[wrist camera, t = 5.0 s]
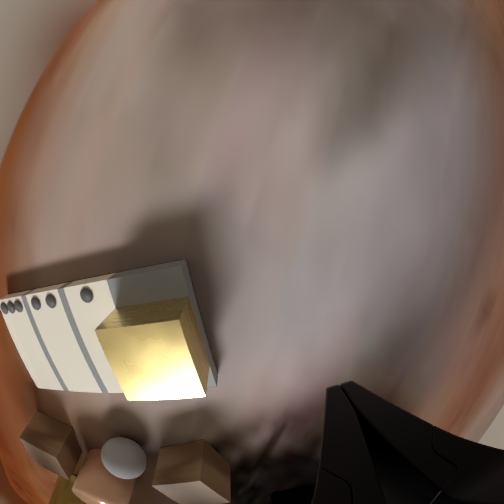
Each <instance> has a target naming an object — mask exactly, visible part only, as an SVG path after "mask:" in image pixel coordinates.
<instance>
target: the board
mask: <svg viewBox="0 0 504 504" xmlns="http://www.w3.org/2000/svg"><path fill="white" fill-rule="evenodd" d="M187 296H189V297H190V301H191V305H192V308H193V312H194V316H195V319H196V322H197V326H198V329H199V333H200V336H201V339H202V343H203V346H204V349H205V352H206V356H207V359H208V362H209V365H210V368H209V375H208V382H207V388H211V387H217V379H218V373H217V370H216V367H215V363H214V360H213V357H212V354H211V350H210V347H209V344H208V340H207V337H206V333H205V330H204V326H203V323H202V319H201V316H200V312H199V308H198V305H197V301H196V297H195V293H194V290H193V286H192V282H191V278H190V274H189V270H188V266H187V262H186V259H184V260H179V261H174V262H168V263H163V264H158V265H153V266H148V267H143V268H138V269H133V270H128V271H123V272H118V273H113V274H107V275H102V276H97V277H92V278H87V279H82V280H77V281H72V282H67V283H62V284H58V285H53V286H48V287H43V288H38V289H33V290H28V291H23V292H18V293H13V294H9V295H6V296H4V297H3V298H1V299H0V309H1V311H2V314H3V317H4V319H5V322H6V324H7V327H8V329H9V332H10V334H11V336H12V339H13V341H14V343H15V345H16V347H17V350H18V352H19V354H20V356H21V358H22V360H23V362H24V364H25V366H26V368H27V370H28V371H29V373H30V375H31V377H32V379H33V381H34V382H35V384H36V386H37V387H38V388H43V389H52V390H63V391H76V392H98V393H123V391H122V389H121V387H120V385H119V383H118V381H117V379H116V377H115V375H114V373H113V371H112V369H111V367H110V365H109V362H108V360H107V358H106V356H105V354H104V351H103V349H102V347H101V344H100V342H99V340H98V337H97V335H96V332H95V329H96V328H97V327H98V326H99V325H100V324H101V322H102V321H103V320H104V319H105V318H106V317H107V316H108V315H109V314H110V313H111V312H112V311H113V310H114V309H115V308H117V307H124V306H131V305H137V304H144V303H150V302H157V301H163V300H169V299H175V298H181V297H187Z"/></svg>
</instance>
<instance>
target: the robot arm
mask: <svg viewBox="0 0 504 504" xmlns="http://www.w3.org/2000/svg"><path fill="white" fill-rule="evenodd" d="M271 499H272V501H273V504H504V450H501V449H497V448H493V447H490V446H486V445H483V444H479V443H476V442H473V441H470V440H467V439H464V438H461V437H458V436H456V435H453V434H451V433H449V432H447V431H444V430H442V429H440V428H438V427H436V426H433V425H432V424H430V423H428V422H426V421H424V420H422V419H420V418H418V417H416V416H414V415H413V414H411V413H409V412H407V411H405V410H403V409H401V408H399V407H398V406H396V405H394V404H392V403H390V402H388V401H387V400H385V399H383V398H381V397H379V396H378V395H376V394H374V393H372V392H371V391H369V390H367V389H365V388H364V387H362V386H360V385H358V384H357V383H355V382H353V381H349V382H345V383H342V384H340V385H335V386H331V387H327V388H326V398H325V412H324V424H323V434H322V444H321V453H320V461H319V470H318V475H317V482H316V485H314V486H309V487H305V488H300V489H295V490H289V491H284V492H277V493H273V494H271Z"/></svg>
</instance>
